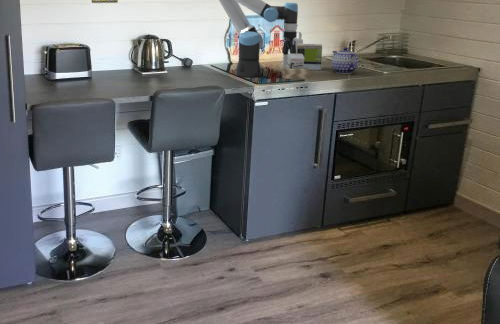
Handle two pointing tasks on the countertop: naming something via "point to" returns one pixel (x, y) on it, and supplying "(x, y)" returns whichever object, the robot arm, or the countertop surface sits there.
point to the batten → (296, 73)
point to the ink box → (295, 61)
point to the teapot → (344, 61)
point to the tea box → (311, 55)
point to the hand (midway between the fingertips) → (288, 67)
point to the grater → (297, 41)
